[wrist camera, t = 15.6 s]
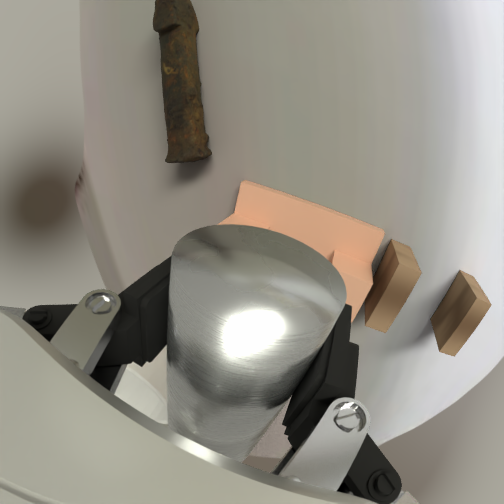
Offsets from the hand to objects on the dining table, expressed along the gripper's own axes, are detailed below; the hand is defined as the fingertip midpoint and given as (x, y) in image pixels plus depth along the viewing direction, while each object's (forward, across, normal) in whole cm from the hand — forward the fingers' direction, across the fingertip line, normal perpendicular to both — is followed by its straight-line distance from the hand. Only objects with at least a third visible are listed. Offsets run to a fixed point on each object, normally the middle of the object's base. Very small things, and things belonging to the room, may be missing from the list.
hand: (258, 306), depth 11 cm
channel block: (+15, -12, +3) cm, 20 cm away
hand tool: (+16, +15, -10) cm, 24 cm away
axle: (+1, 0, +3) cm, 3 cm away
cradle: (+15, 0, +5) cm, 16 cm away
